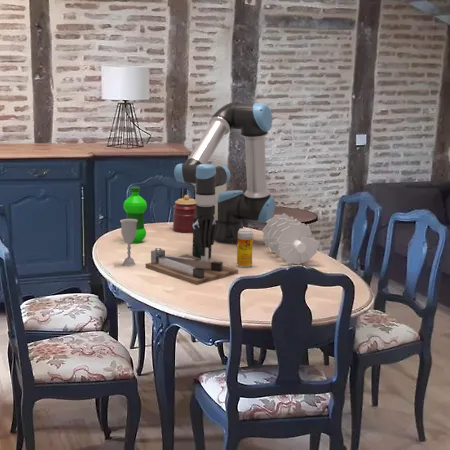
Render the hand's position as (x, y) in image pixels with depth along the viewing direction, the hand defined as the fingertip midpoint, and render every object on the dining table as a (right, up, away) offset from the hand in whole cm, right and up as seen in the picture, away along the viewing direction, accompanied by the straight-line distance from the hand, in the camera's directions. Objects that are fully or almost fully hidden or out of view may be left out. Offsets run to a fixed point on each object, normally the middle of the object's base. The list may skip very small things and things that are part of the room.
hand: (204, 263), depth 271 cm
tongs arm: (-4, -1, 0) cm, 5 cm away
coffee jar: (-2, +1, +21) cm, 21 cm away
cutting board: (-5, -3, +1) cm, 6 cm away
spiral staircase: (+35, +1, +21) cm, 41 cm away
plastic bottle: (-33, +7, +44) cm, 55 cm away
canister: (-11, +12, +68) cm, 70 cm away
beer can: (+16, -2, +9) cm, 18 cm away
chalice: (-31, -1, +7) cm, 32 cm away
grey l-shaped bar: (-10, -2, -4) cm, 11 cm away
